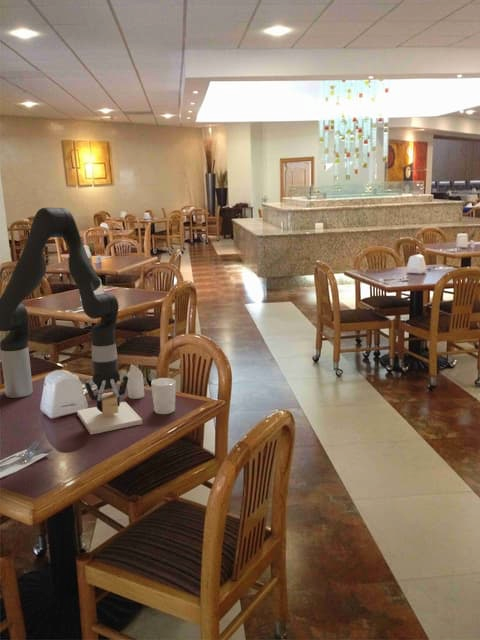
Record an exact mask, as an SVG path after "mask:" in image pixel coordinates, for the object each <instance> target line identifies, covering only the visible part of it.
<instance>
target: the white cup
mask: <svg viewBox="0 0 480 640" xmlns="http://www.w3.org/2000/svg"><path fill="white" fill-rule="evenodd" d="M150 385H151V396H152V401H153V402H152V404H153V410H154V413H156V414H158V415H169V414H172V413H174V412H175V411H176V379H173V378H170V377H160V378H156V379H153V380H151V383H150Z"/></svg>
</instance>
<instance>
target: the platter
mask: <svg viewBox="0 0 480 640" xmlns="http://www.w3.org/2000/svg"><path fill="white" fill-rule="evenodd" d="M76 412H77V413H76V414H77V417H79V419H80V420H81V422H82V424H83V425H84V427H85V429H87V431H88V432H89V434H90V435H94V434H95V435H96V434H101V433H105V432H110V431H114V430H119V429H120V430H121V429H124V428H128V427H134V426H139V425H143V419H142V417H140V415H139V414H137V413H136V411H134V409H133V408H132V407H131V406H130V405H129V404H128V403H127V402H126V401H120V405H119V406H118V413H114V414H109V415H103V413H102V412H100V411H99V410H98V409H97V406H94V407H93V406H92V407H89V408H83V409H78V410H76Z"/></svg>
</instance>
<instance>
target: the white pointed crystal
mask: <svg viewBox="0 0 480 640" xmlns="http://www.w3.org/2000/svg"><path fill="white" fill-rule="evenodd" d="M126 376H127V377H128V382H127V386H126V389H127V395H128V396H127V397H128V398H129V399H133V400H135V399H137V400H138V399H142V398H144V397H145V386H144V376H143V372H142V371H141V370H140V369H139V368H138V366H137V367H136V365H134V364H133V363H131V364H130V368H129V370H128V372H127V374H126Z"/></svg>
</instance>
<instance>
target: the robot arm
mask: <svg viewBox="0 0 480 640" xmlns="http://www.w3.org/2000/svg"><path fill="white" fill-rule="evenodd" d="M50 238H62V239H63V240H64V242H65V243H66V246H67V248H68V270H69V274H70V276H71V277H72V280H73V281H74V283H75V285H76V286H77V288H78V291H79V292H78V293H79V297H80V300H81V305H82V309H83V312H84V314H85V315H86V316H87V317H88V318H90V319H92V320H96V319H100V320H99V321H98V323H96V324H95V325H93V326H92V327H91V329H90V330H91V331H90V335H91V357H92V358H91V359H92V370H93V371H92V372H93V375H92V378H91V379H90V380H85V381H83V384H84V387H85V389H86V391H87V393H88V396H89V398H90V399H91V400H92V401H95V404H96V406H95V407H97V409H98V410H99V411H100V412H101V411H102V401H101V397H102V394H104V390H110V389H112V391H111V392H112V393H113V394H114V395H115V396H116V397H117V402H118V406H119V405H120V402H121V401H120V396H124V395H125V394H126V389H127V382H128V377H127V374H123V375H122V374H120V373H119V367H118V365H119V364H118V352H117V345H116V333H115V329H116V326H117V319H118V315H119V301H118V299H117V296H116V295H114V294H113V293H112V292H105V293H100V294H99V293H98V294H95V291H97V290H98V289H99V288H100V287H101V283H102V282H101V279H100V277H99V275H98V273H97V271H96V270H95V268H94V266H93V264H92V263H91V260H90V258H89V256H88V254H87V252H86V249H85V245H84V243H83V239H82V237H81V234H80V231H79V227H78V226H77V222H76V220H75V217H74V215H73V214H72V213H71V211H69V209H67V208H63V207H43V208H42V207H41V208H40V209H39V210H37V212H36V213H35V215H34V218H33V220H32V224H31V226H30V230H29V234H28V236H27V239H26V242H25V245H24V246H23V247H24V248H23V249H22V252H21V254H20V256H19V259H18V260H17V263H16V265H15V267H14V269H13V270H12V274H11V277H10V279H9V281H8V282H7V284H6V287H5V288H4V291H3V292H2V295H1V296H0V332H8V331H9V332H8V334H7V335H6V336H5V337H4V338H3V339H1V341H0V357H1V365H2V372H3V373H2V374H3V384H4V391H5V392H4V393H5V397H7V398H11V399H18V398H24V397H27V396H30V395H31V394H33V393H34V392H33V381H32V380H33V379H32V378H33V377H32V371H31V359H30V353H29V352H30V350H29V341H30V325H29V323H30V321H29V314H28V310H27V308H26V307H25V305H24V304H23V303H22V302H24V301H25V300H26V299H27V298H28V297H29V296H30V295H31V294H32V293H34V292H35V290H37V289H38V288H39V286H40V284H41V282H42V281H43V279H44V277H45V274H46V273H47V262H46V258H45V255H44V249H45V248H46V247H45V246H46V245H47V243H48V241H49V240H50ZM118 381H119V382H120V385H119V389H118V387H117V385H116V384H117V383H118ZM93 384H95V386H96V389H95V390H96V391H95V394H94V391H93V389H92V388H93V386H94V385H93Z"/></svg>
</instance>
